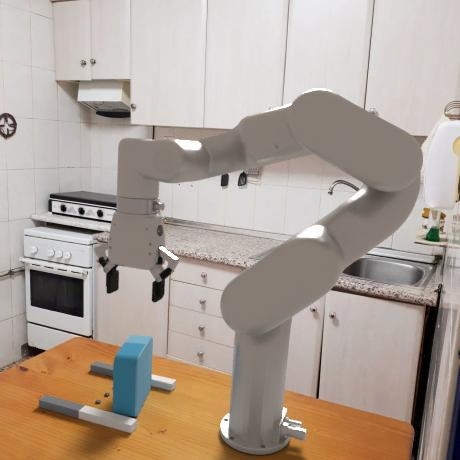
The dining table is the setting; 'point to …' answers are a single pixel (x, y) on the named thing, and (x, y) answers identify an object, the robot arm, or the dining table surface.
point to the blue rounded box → (132, 375)
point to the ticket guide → (97, 414)
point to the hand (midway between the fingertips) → (134, 296)
